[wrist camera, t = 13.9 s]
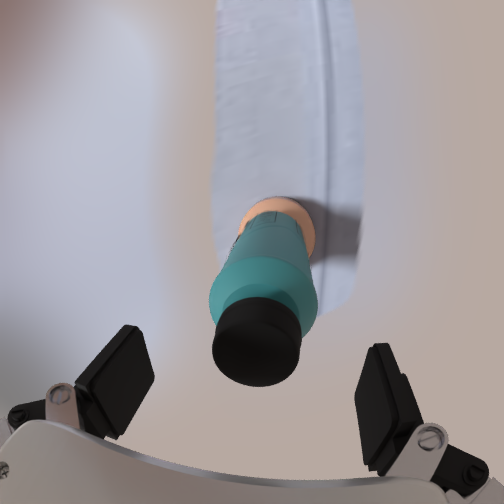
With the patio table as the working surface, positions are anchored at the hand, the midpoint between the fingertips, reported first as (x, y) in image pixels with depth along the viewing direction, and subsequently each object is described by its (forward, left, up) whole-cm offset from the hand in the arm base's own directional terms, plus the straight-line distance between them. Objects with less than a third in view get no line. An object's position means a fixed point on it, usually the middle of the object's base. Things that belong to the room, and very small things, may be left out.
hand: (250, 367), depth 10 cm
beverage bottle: (0, 0, -21) cm, 21 cm away
